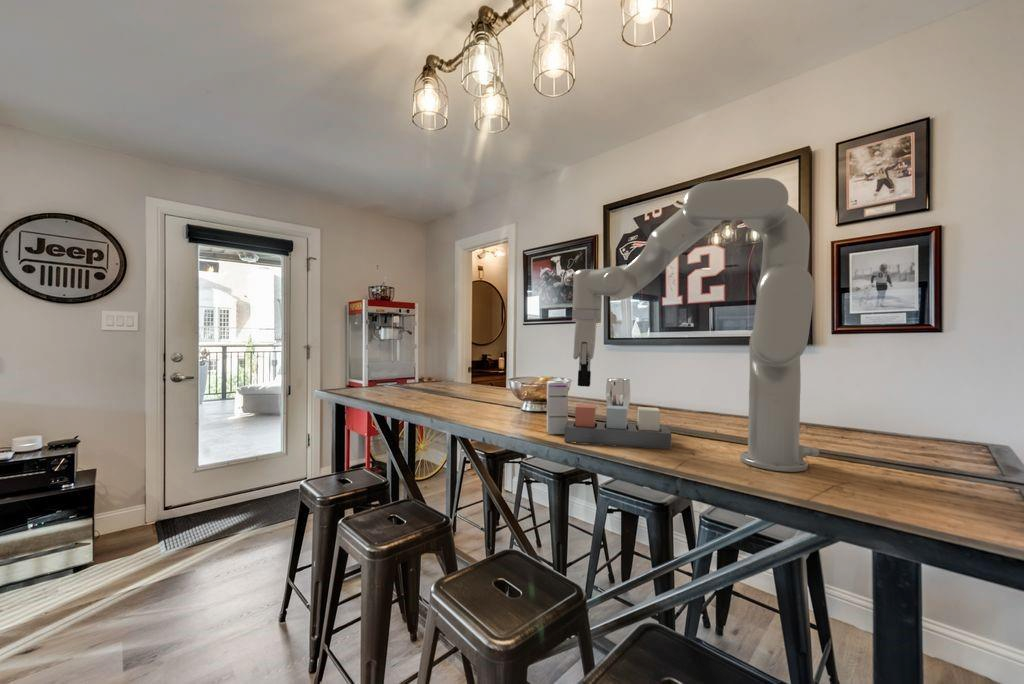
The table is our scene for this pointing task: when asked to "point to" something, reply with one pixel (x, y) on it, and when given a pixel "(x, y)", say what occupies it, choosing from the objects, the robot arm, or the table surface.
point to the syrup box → (557, 406)
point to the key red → (585, 415)
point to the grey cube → (616, 417)
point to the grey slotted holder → (618, 436)
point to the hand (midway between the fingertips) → (583, 385)
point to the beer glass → (618, 392)
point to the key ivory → (648, 419)
